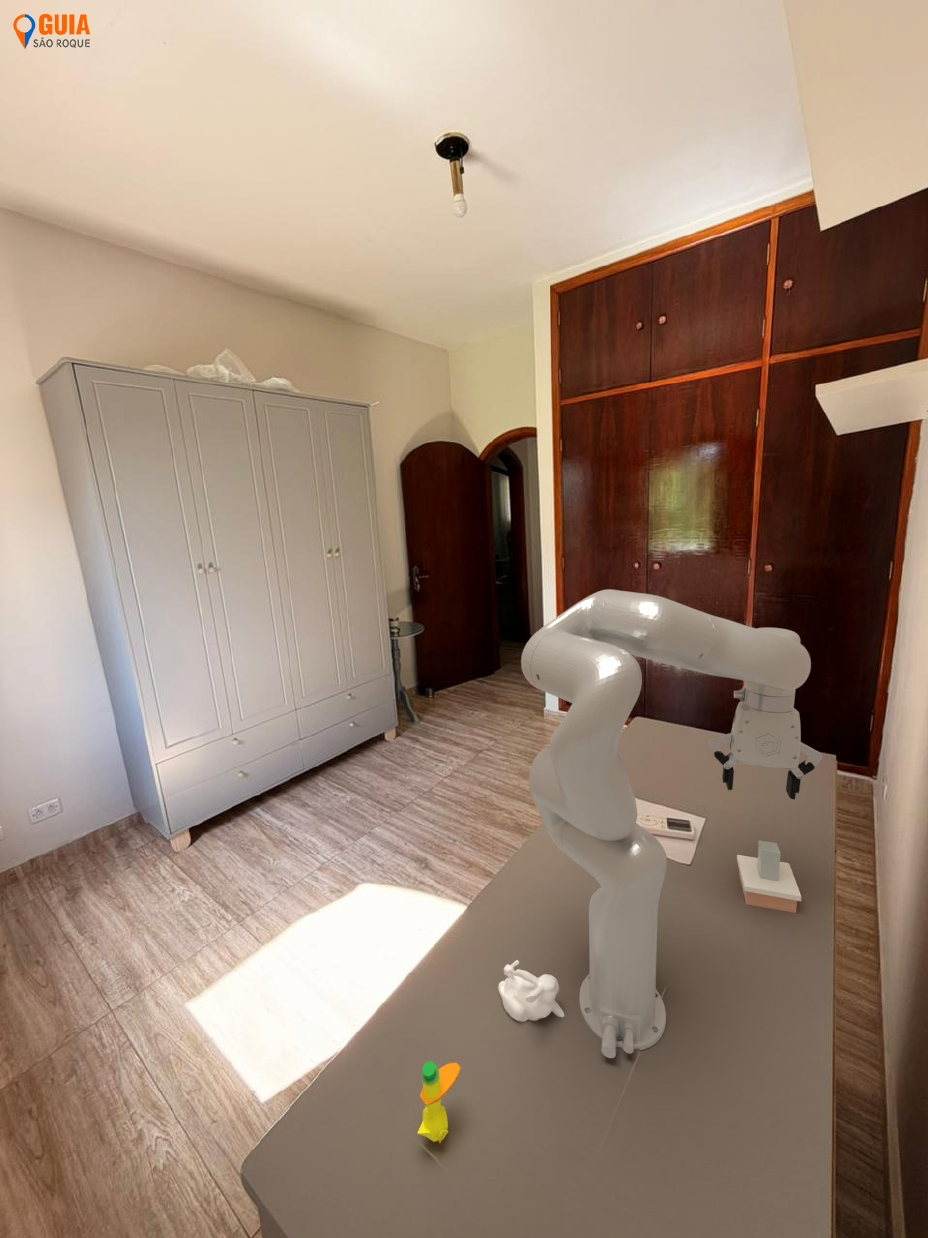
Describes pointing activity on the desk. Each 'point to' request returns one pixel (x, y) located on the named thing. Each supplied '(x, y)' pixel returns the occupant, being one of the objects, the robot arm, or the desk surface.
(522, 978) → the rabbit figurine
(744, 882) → the lid
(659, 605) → the robot arm
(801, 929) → the desk surface
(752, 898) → the square frame
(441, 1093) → the toy figure
